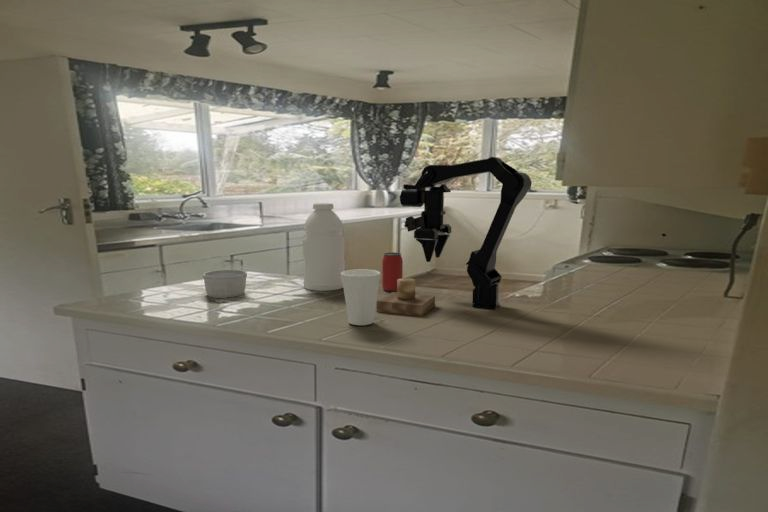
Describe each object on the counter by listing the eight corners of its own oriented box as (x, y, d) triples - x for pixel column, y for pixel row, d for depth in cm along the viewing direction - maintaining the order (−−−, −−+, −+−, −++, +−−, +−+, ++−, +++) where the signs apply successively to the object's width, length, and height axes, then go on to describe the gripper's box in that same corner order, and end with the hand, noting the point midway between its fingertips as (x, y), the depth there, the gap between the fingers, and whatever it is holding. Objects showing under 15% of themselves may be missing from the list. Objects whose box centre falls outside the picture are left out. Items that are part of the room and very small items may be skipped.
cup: (343, 318, 139) (342, 269, 137) (381, 318, 138) (381, 269, 137) (339, 328, 129) (338, 276, 127) (380, 329, 129) (380, 276, 127)
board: (434, 306, 152) (435, 295, 151) (421, 316, 141) (421, 305, 140) (392, 302, 156) (392, 292, 156) (376, 311, 146) (376, 300, 145)
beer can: (402, 292, 170) (402, 255, 168) (382, 291, 170) (382, 255, 169) (402, 287, 177) (402, 252, 175) (382, 287, 177) (382, 252, 175)
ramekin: (256, 293, 169) (255, 271, 167) (223, 301, 158) (222, 278, 156) (228, 288, 176) (227, 268, 175) (194, 296, 165) (193, 274, 164)
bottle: (304, 283, 184) (302, 202, 180) (344, 282, 185) (343, 202, 181) (302, 292, 170) (300, 204, 166) (345, 291, 172) (345, 204, 168)
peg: (417, 306, 150) (418, 279, 149) (411, 310, 145) (411, 282, 144) (400, 305, 152) (401, 277, 151) (394, 309, 147) (394, 281, 146)
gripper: (418, 205, 169) (417, 254, 171) (397, 208, 152) (396, 262, 154) (452, 206, 164) (451, 256, 167) (434, 209, 147) (433, 265, 150)
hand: (433, 259), depth 159 cm, fingers open, 9 cm apart
